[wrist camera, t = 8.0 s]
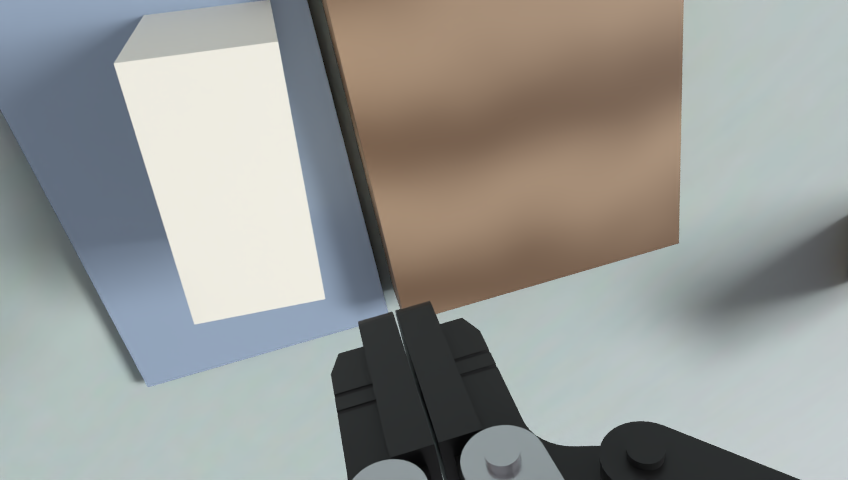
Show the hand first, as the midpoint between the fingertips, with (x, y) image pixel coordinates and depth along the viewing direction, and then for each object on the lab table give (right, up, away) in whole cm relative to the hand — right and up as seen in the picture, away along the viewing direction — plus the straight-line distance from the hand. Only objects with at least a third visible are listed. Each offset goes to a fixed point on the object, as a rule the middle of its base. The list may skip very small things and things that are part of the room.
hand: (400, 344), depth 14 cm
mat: (-8, +5, +11) cm, 14 cm away
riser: (+3, +8, +12) cm, 15 cm away
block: (-4, +5, +8) cm, 10 cm away
